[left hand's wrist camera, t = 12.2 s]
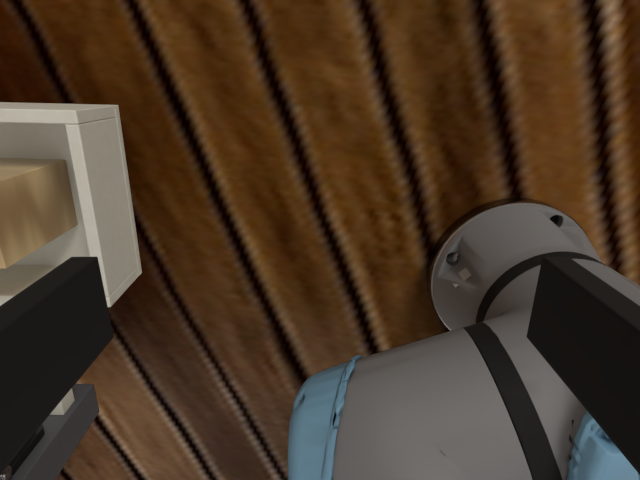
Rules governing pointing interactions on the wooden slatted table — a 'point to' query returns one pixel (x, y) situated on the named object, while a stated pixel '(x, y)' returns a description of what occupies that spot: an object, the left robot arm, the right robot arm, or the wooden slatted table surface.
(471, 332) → the left robot arm
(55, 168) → the birch block
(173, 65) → the wooden slatted table surface
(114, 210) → the handled bin
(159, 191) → the wooden slatted table surface
